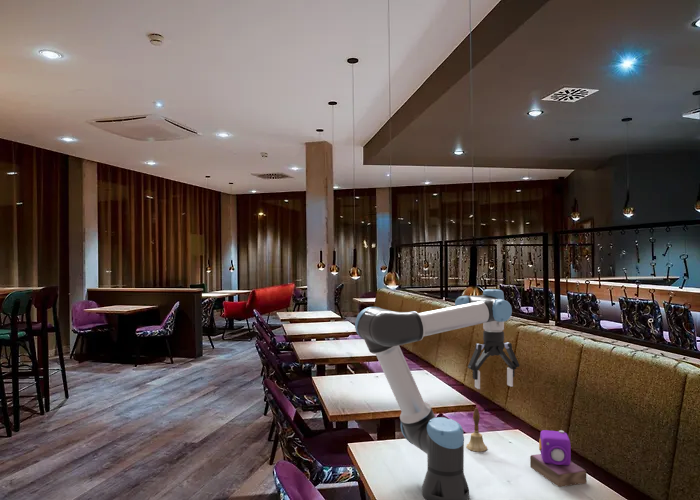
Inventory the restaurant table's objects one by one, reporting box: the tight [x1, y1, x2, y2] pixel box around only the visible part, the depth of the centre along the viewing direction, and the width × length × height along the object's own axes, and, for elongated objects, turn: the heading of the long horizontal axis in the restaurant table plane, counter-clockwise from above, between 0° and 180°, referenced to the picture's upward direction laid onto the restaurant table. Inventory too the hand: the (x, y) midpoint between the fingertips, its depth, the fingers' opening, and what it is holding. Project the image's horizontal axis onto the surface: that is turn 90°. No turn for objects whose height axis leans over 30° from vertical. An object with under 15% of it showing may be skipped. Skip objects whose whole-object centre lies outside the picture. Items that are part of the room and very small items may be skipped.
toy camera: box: [538, 429, 572, 465], centre depth 174 cm, size 11×14×10 cm
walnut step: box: [529, 453, 587, 488], centre depth 174 cm, size 11×16×4 cm
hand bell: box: [465, 407, 488, 453], centre depth 199 cm, size 8×8×16 cm
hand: (493, 387), depth 184 cm, fingers open, 13 cm apart
